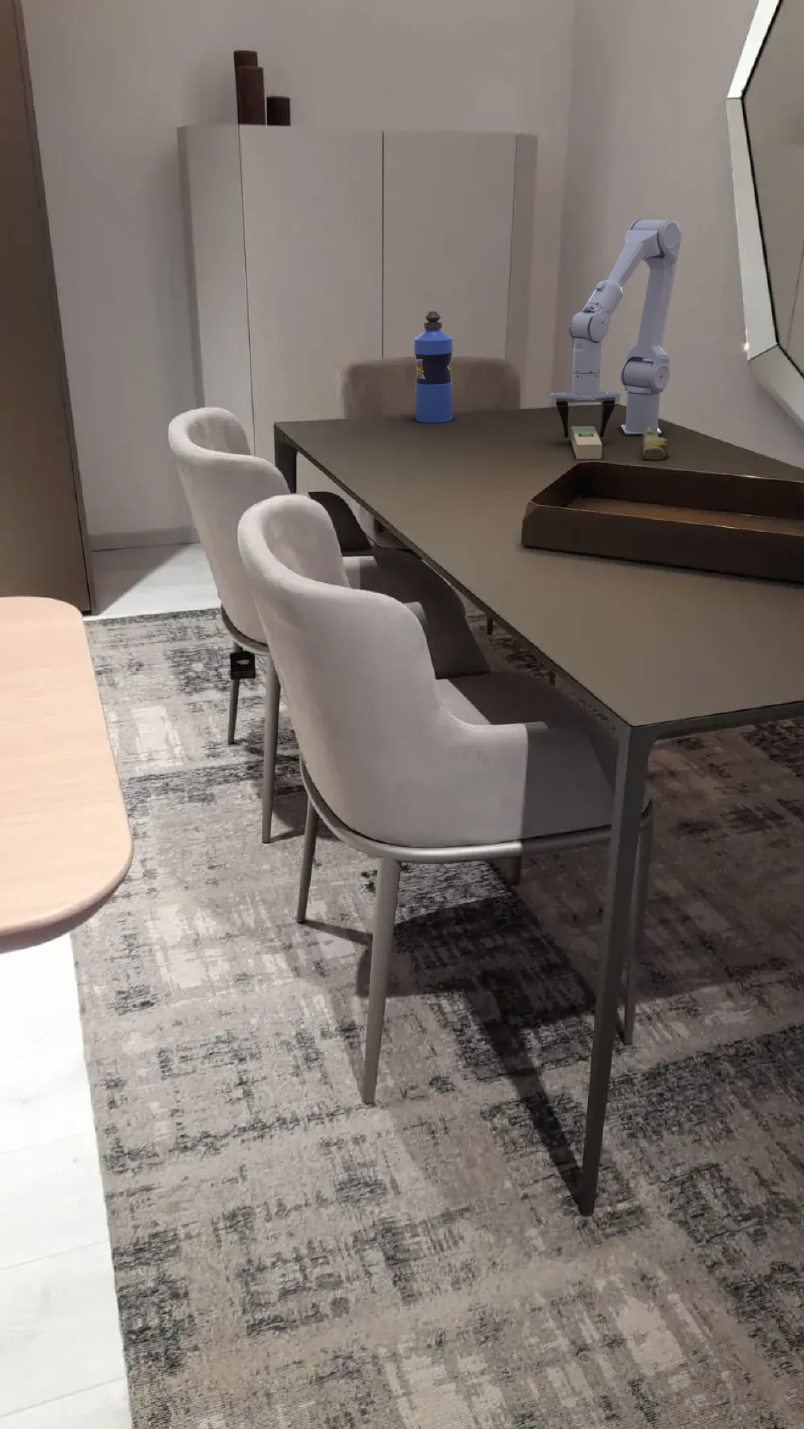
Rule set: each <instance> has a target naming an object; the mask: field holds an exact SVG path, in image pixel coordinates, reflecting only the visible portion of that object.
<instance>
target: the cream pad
mask: <svg viewBox="0 0 804 1429" xmlns="http://www.w3.org/2000/svg"><path fill="white" fill-rule="evenodd" d="M572 448H573V452H574V455H575V458H576V460H602V454H603V443H602V440H601V439H600V435H598V433H597V434H593V437H579V436H578V434H574V442H573V445H572Z"/></svg>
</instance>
